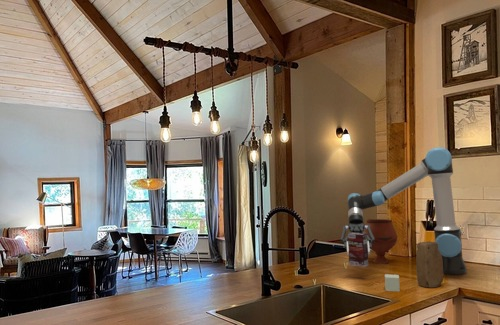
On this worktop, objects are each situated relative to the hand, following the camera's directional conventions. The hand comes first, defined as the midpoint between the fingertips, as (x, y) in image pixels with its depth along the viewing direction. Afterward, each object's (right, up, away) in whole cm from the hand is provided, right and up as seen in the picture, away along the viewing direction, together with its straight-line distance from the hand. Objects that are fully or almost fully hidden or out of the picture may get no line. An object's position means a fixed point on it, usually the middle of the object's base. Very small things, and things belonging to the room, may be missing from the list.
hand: (358, 253), depth 204 cm
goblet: (+24, -14, +40) cm, 49 cm away
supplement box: (+1, -7, +3) cm, 7 cm away
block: (+30, -12, -14) cm, 35 cm away
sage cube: (+10, -12, -18) cm, 24 cm away
